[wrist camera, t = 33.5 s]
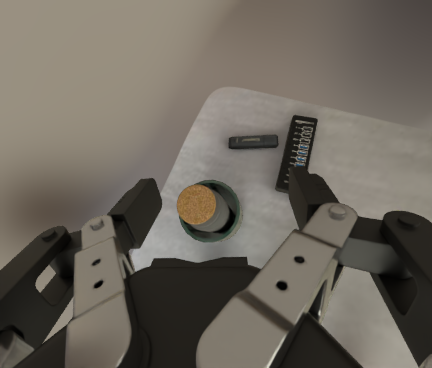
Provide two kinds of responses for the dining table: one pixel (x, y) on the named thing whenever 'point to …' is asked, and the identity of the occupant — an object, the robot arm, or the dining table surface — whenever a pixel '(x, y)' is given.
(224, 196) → the canister
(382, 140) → the dining table surface
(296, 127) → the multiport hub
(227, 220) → the cork-stoppered jar
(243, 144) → the usb stick
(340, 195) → the dining table surface
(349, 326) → the dining table surface
